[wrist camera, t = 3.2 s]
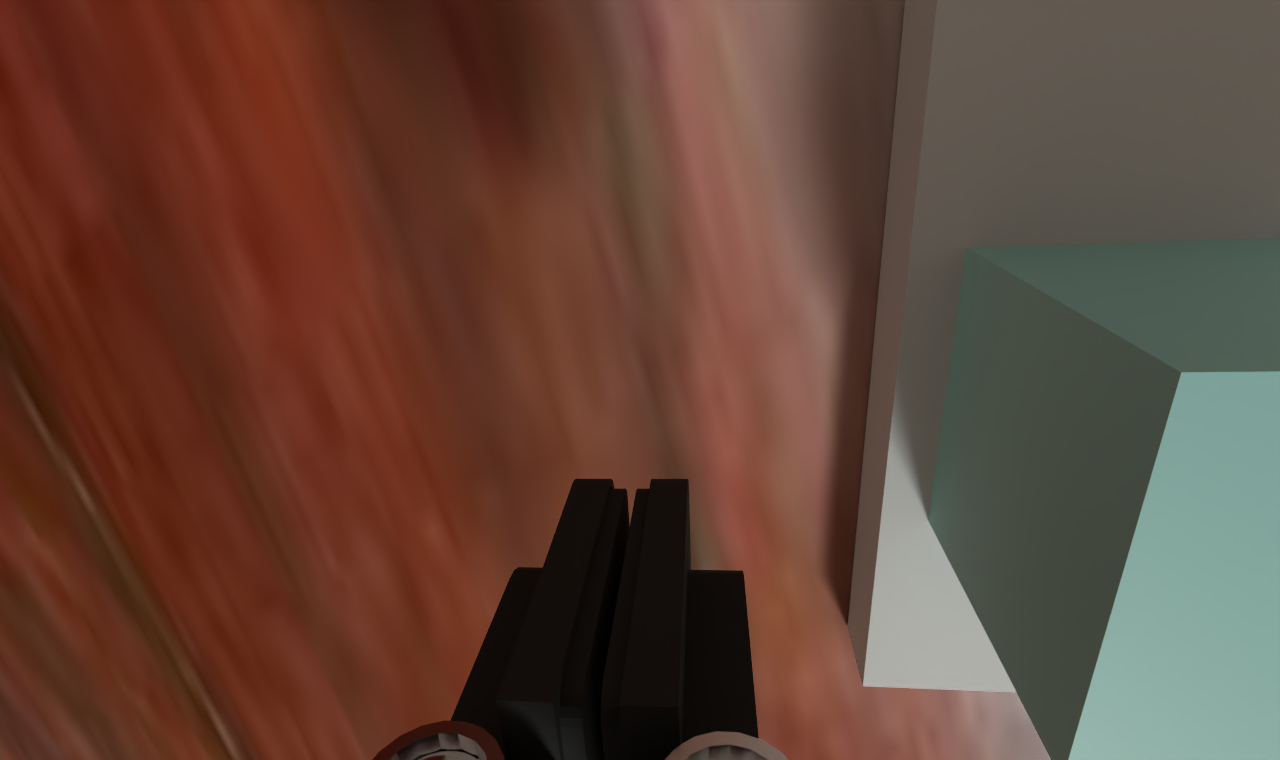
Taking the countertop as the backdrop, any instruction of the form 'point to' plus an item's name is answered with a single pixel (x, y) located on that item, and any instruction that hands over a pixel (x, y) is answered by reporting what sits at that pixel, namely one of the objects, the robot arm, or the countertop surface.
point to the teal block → (1122, 490)
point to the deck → (1032, 235)
